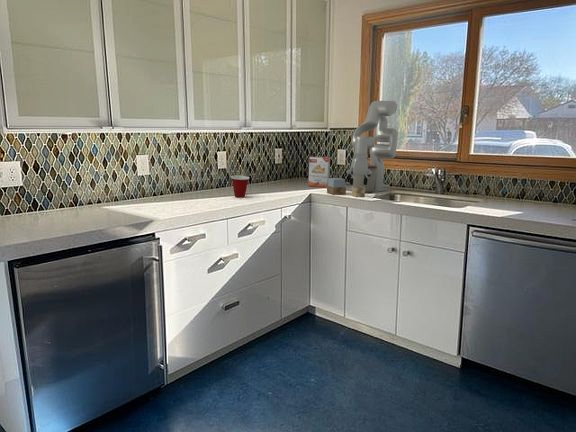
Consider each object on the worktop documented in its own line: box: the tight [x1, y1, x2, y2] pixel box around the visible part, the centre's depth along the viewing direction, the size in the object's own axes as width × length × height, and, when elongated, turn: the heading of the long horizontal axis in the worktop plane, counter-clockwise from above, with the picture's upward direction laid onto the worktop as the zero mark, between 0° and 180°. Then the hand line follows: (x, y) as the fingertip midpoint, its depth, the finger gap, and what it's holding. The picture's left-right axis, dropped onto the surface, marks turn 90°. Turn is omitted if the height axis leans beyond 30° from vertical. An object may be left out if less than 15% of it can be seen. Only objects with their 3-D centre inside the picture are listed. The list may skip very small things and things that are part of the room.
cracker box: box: [307, 156, 331, 188], centre depth 312 cm, size 14×6×21 cm, turn 73°
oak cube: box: [351, 185, 366, 198], centre depth 272 cm, size 6×6×6 cm
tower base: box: [326, 186, 347, 196], centre depth 280 cm, size 9×9×5 cm
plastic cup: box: [230, 175, 250, 199], centre depth 255 cm, size 11×11×12 cm
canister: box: [351, 164, 378, 194], centre depth 291 cm, size 18×18×21 cm
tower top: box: [328, 177, 346, 187], centre depth 280 cm, size 8×8×5 cm
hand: (358, 184), depth 271 cm, fingers open, 9 cm apart
